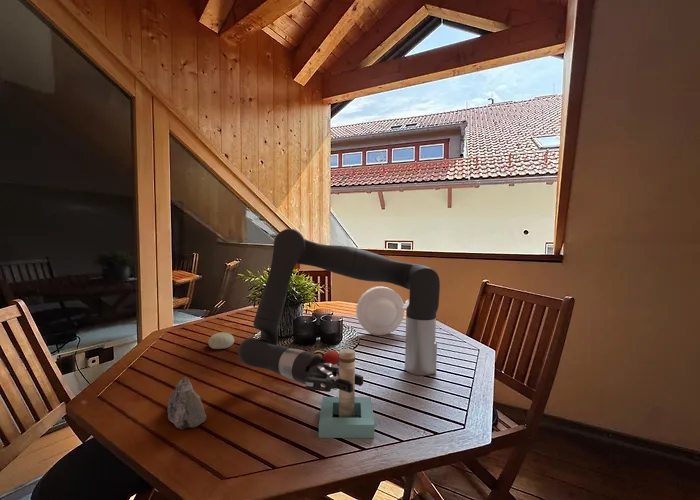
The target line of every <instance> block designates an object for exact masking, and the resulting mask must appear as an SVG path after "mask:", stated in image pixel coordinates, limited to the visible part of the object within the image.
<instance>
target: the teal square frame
mask: <svg viewBox="0 0 700 500" xmlns="http://www.w3.org/2000/svg"><path fill="white" fill-rule="evenodd" d="M334 415H339V396H322V400H321V407H320V412H319V419H318V421H319V422H318V438H322V439H323V438H324V439H325V438H328V439H335V438H336V439H340V438H341V439H374V438H375V418H374V411H373V402H372V397H371V396H366V397H365V396H363V397H362V396H355V399H354V416H355V415H357V416H358V415H359V416H360V417H354V418H339V417H334Z"/></svg>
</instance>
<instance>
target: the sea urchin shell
mask: <svg viewBox="0 0 700 500" xmlns="http://www.w3.org/2000/svg"><path fill="white" fill-rule="evenodd" d="M234 342H235V337H234V335H232V334H231V333H229V332H225V331H222V332H217V333H214V334H212V335H211V336H210V337H209V339H208V341H207V343H208V346H209V347H210V348H211V349H213V350H223V349H228V348H230V347H232V346H233V344H234Z"/></svg>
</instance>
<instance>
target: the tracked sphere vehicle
mask: <svg viewBox="0 0 700 500" xmlns="http://www.w3.org/2000/svg"><path fill="white" fill-rule="evenodd" d="M408 305H409V299H408V298H407V300H405V303H404V301H403V299H402V297H401V295H400V294H399V293H397V292H396V291H395V290H393V289H391V288H390V287H386V286H382V285H381V286H373V287H370V288H369V289H367V290H366V291H365V292H364V293H362V294H361V296H360V297H359V299H358V301H357V303H356V308H355V314H356V318H357V320H358V323H359V325H360V326H361V327H362V329H364V330H365V332H367V333H370V334H371V335H374V336H385V335H389V334H391V333H393V332H394V331H396V330H397V329H398V328H399V327H400V325H401V324H402V323H403V321H404V317H405V313H406V312H405V311H406V309H407V307H408Z"/></svg>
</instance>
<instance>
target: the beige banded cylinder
mask: <svg viewBox="0 0 700 500" xmlns="http://www.w3.org/2000/svg"><path fill="white" fill-rule="evenodd" d="M338 354H339V378H340V379H343V380H346V381H350V382H352V383H353V391H352V392H351V393H349V392H346V391H343V390H340V389H338V397H339V414H338V418H355V415H354V399H355V397H356V396H355V395H356V393H355V387H356V386H355V385H356V384H355V374H356V351H355V350H354V349H351V348H344V349H340V350H339V353H338Z"/></svg>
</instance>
